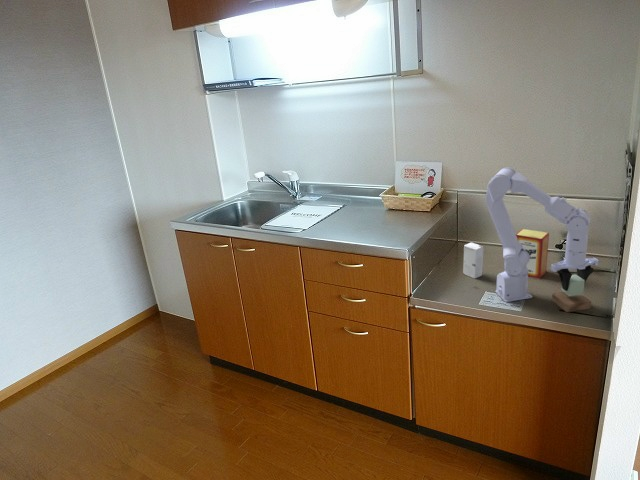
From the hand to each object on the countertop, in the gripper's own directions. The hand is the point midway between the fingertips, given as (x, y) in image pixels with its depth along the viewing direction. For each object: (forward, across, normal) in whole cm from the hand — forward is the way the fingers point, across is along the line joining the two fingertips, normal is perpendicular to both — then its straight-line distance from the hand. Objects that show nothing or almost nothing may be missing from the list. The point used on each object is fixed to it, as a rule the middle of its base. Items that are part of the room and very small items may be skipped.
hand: (572, 288), depth 148 cm
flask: (+6, +15, +23) cm, 28 cm away
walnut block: (+6, 0, 0) cm, 6 cm away
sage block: (+1, 0, 0) cm, 1 cm away
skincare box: (+6, -20, +30) cm, 37 cm away
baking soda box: (+6, 0, +25) cm, 26 cm away
